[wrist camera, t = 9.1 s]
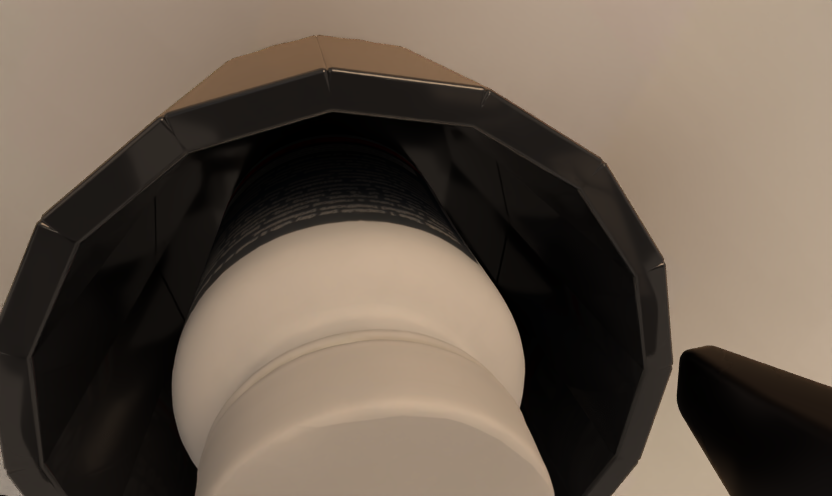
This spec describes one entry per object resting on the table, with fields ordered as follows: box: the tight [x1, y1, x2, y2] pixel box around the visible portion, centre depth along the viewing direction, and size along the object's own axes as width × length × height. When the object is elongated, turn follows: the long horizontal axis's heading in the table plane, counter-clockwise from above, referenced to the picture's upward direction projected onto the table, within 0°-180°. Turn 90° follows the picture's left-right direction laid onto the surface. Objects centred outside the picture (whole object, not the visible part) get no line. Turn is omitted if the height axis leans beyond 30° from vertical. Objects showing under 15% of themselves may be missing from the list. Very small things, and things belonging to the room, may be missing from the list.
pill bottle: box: [172, 134, 555, 496], centre depth 10 cm, size 5×5×9 cm
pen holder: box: [0, 35, 673, 496], centre depth 12 cm, size 9×9×7 cm
